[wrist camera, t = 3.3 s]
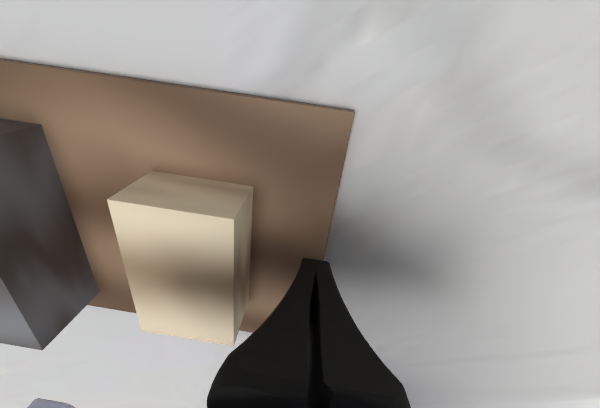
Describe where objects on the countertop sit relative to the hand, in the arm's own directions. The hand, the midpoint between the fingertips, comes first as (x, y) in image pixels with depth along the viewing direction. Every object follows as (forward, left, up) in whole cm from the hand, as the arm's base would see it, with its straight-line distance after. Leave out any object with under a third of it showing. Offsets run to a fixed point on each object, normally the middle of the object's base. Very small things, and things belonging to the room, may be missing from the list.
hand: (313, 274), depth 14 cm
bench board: (0, +8, -2) cm, 8 cm away
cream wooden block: (0, +6, -1) cm, 6 cm away
